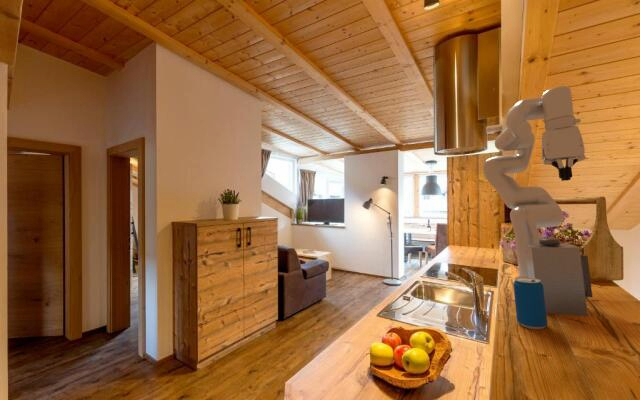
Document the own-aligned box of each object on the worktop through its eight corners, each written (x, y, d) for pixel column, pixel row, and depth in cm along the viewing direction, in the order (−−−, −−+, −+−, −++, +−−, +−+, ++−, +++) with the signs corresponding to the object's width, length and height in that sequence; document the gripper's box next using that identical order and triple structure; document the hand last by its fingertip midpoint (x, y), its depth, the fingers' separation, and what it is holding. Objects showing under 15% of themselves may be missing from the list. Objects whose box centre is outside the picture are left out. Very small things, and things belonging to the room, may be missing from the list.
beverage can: (553, 330, 70) (548, 282, 71) (524, 330, 72) (519, 282, 72) (539, 320, 77) (534, 276, 77) (512, 320, 78) (508, 277, 79)
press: (530, 301, 92) (524, 243, 94) (585, 304, 86) (578, 242, 87) (538, 312, 83) (531, 247, 84) (601, 317, 76) (592, 247, 78)
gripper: (584, 123, 93) (591, 178, 92) (529, 132, 100) (535, 183, 98) (594, 117, 86) (601, 176, 85) (534, 127, 93) (540, 182, 92)
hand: (566, 180), depth 92 cm, fingers closed
